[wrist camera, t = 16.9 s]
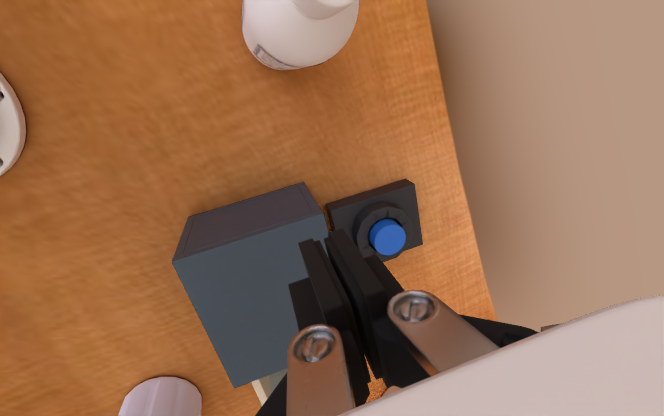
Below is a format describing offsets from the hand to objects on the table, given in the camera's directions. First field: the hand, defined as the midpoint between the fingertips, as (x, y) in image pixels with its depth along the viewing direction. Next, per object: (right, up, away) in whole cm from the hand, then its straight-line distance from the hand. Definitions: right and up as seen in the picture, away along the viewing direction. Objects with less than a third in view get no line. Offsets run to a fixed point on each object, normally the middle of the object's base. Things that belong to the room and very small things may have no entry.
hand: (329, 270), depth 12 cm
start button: (+6, -1, +26) cm, 26 cm away
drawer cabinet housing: (-7, -3, +27) cm, 28 cm away
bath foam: (-5, +19, +19) cm, 27 cm away
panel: (+5, +1, +29) cm, 29 cm away
